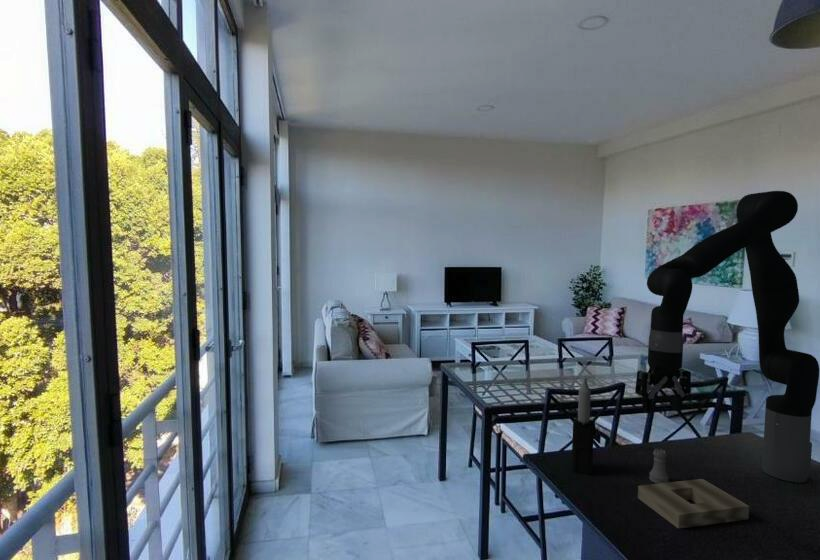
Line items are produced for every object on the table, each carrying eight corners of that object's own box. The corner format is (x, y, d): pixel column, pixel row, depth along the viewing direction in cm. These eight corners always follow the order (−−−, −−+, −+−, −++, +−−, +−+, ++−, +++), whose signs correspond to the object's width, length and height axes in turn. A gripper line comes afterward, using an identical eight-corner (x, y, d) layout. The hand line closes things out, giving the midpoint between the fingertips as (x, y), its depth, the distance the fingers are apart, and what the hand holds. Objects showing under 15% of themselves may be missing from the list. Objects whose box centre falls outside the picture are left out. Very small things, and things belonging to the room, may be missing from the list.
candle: (592, 467, 120) (596, 376, 118) (591, 476, 115) (595, 381, 114) (572, 463, 122) (575, 374, 120) (570, 471, 117) (574, 378, 116)
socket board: (701, 490, 108) (702, 478, 108) (748, 519, 97) (749, 506, 97) (637, 497, 105) (638, 485, 105) (678, 528, 93) (679, 514, 93)
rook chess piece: (671, 486, 110) (673, 455, 110) (652, 484, 111) (653, 453, 111) (665, 477, 115) (666, 447, 114) (646, 475, 115) (647, 446, 115)
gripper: (677, 344, 116) (674, 405, 117) (630, 345, 113) (627, 407, 114) (701, 350, 109) (698, 415, 110) (652, 351, 106) (648, 418, 107)
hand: (662, 411), depth 112 cm, fingers open, 8 cm apart
